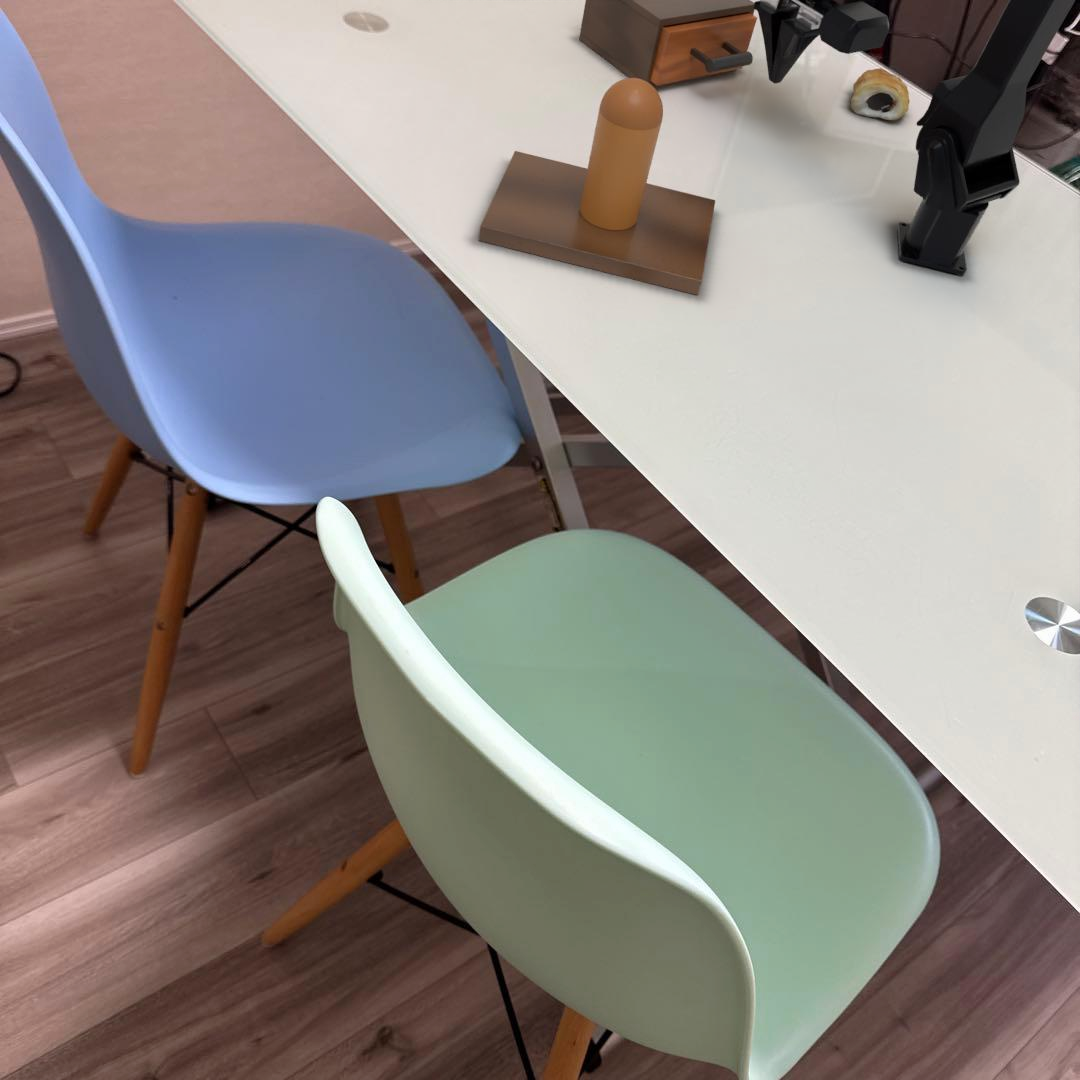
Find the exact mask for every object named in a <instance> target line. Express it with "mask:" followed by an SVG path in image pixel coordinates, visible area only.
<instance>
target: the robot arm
mask: <svg viewBox="0 0 1080 1080" xmlns="http://www.w3.org/2000/svg"><path fill="white" fill-rule="evenodd" d="M1075 2H1076V0H1008V2H1007V3H1006V5H1005V8H1004V10H1003V11H1002V13H1001V15H1000V16H999V19H998V20H997V23H996V25H994V28H993V30H992V32H991V34H990V35H989V37H988V40H987V42H986V43H985V45H984V47H983V49H982V51H981V53H980V55H979V57H978V58H977V61H976V63H975V64H974V66H973V68H972V69H971V70H970V71H969V72H968V73H967V74H966V75H964V76H963V75H962V76H959V77H955V78H951V79H947V80H942V81H940V82H938V84H937V86H936V88H935V89H934V90H933V94H932V97H931V100H930V103H929V105H928V106H927V107H928V108H927V109H926V111H925V112H924V114H923V116H922V117H921V118H919V120H917V121H916V126H917V127H921V128H920V130H919V132H918V134H917V137H916V139H915V140H916V141H915V150H916V151H917V155H918V157H917V164H916V171H915V176H914V177H915V178H914V184H913V192H914V193H915V194H917V195H918V196H920V197H921V198H922V200H921V202H920V204H919V206H918V208H917V210H916V212H915V214H914V216H913V218H912V220H911V221H910V223H908V222H904V221H900V222H899V223H898V225H897V227H896V228H897V240H898V241H897V243H898V255H899V259H900V260H901V261H903V262H907V263H911V264H915V265H920V266H923V267H927V268H932V269H935V270H940V271H944V272H947V273H948V272H949V273H952V274H955V275H959V276H964V275H965V274H966V272H967V269H968V268H967V261H966V255H965V249H966V247H967V245H968V244H969V242H970V240H971V238H972V236H973V235H974V233H975V231H976V230H977V228H978V226H979V225H980V222H981V220H982V219H983V217H984V215H985V213H986V211H987V209H988V208H989V205H990V202H993V201H995V200H999V199H1000V200H1002V199H1004V198H1005V199H1006V197H1007V196H1008V195H1010V194H1011V193H1012V192H1013V191H1014V190H1015V189H1016V188H1017V187H1019V185H1020V177H1019V171H1018V167H1017V163H1016V162H1017V161H1016V157H1015V154H1014V153H1015V152H1014V147H1013V143H1014V141H1015V139H1016V137H1017V134H1018V131H1019V130H1020V126H1021V124H1022V121H1023V119H1024V117H1025V111H1026V110H1025V109H1026V100H1027V99H1026V98H1027V88H1028V84H1029V82H1030V80H1031V78H1032V76H1033V75H1034V73H1035V71H1036V69H1037V67H1038V66H1039V65H1040V63H1041V61H1042V59H1043V57H1044V55H1045V54H1046V52H1047V51H1048V49H1049V47H1050V45H1051V43H1052V42H1053V40H1054V39H1055V36H1056V35H1057V33H1058V32H1059V29H1060V28H1061V26H1062V24H1063V23H1064V22H1065V21H1064V20H1065V19H1066V17H1067V15H1068V14H1069V12H1070V10H1071V9H1072V7H1073V5H1074V3H1075ZM754 9H755V10H756V11H757V14H758V18H759V24H760V28H761V34H762V38H763V44H764V50H765V58H766V59H765V60H766V66H767V73H768V80H769V82H771V83H773V84H774V85H776V84H780V83H782V81H783V80H784V79H785V77H786V76H787V74H788V73H789V72H790V71H791V69H792V68H793V67H794V66H795V64H796V62H797V61H798V59H800V58H801V56H802V55H803V53H804V52H805V50H806V49H807V48H808V47H809V46H810V45H811V44H812V43H813V41H815V39H817V38H818V37H820V41H821V42H822V43H824V44H826V45H828V46H829V47H831V48H832V49H833V50H835V51H837V52H839V53H842V54H847V55H850V54H854V53H860V52H864V51H868V50H873V49H878V48H882V47H883V46H884V43H885V41H886V38H887V36H888V33H889V30H890V21H889V18H888V15H886V14H885V13H883V12H881V11H880V10H878V9H877V8H874V7H873V6H872V5H869V4H868V3H866V2H864V1H855V2H849V3H843V4H841V3H840V2H838V1H837V0H757V1H754ZM755 10H754V11H755Z"/></svg>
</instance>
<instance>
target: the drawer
mask: <svg viewBox="0 0 1080 1080" xmlns="http://www.w3.org/2000/svg"><path fill="white" fill-rule="evenodd" d="M757 20H758V17H757V16H756V15H754V14H751V13H748V14H742V15H737V14H734V15H728V16H722V17H716V18H710V19H704V20H698V21H692V22H686V23H680V24H674V25H668V26H664V28H663V29H662V34H661V38H660V42H659V46H658V51H657V55H656V59H655V63H654V68H653V72H652V76H651V81H652V82H653V83H654V84H656V85H662V84H667V83H672V82H677V81H682V80H687V79H692V78H697V77H701V76H706V75H711V74H716V73H721V72H726V71H731V70H736V69H737V70H741V69H743V67H746V66H747V67H748V66H750V65H751V64H752V63H753V61H754V60H753V59H754V58H753V53H752V52H751V51H748V50H749V48H750V47H749V46H750V43H751V41H752V40H751V39H752V37H753V34H754V30H755V28H756V27H755V26H756V25H757ZM737 70H736V71H737ZM731 72H732V71H731ZM726 73H727V72H726ZM721 74H722V73H721ZM716 75H717V74H716ZM711 76H712V75H711ZM706 77H707V76H706ZM701 78H702V77H701ZM697 79H698V78H697ZM692 80H693V79H692ZM687 81H688V80H687ZM682 82H683V81H682ZM677 83H678V82H677ZM672 84H673V83H672ZM667 85H668V84H667ZM662 86H663V85H662Z"/></svg>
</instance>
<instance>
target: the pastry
mask: <svg viewBox="0 0 1080 1080" xmlns="http://www.w3.org/2000/svg"><path fill="white" fill-rule="evenodd" d="M852 89H853V94H852V97H851V99H850V109H851V110H852V111H853V112H854V113H855V114H857V115H860V116H864V117H867V118H878V119H879V118H880V119H882V120H884V121H885V120H886V121H897V120H899V119H901V118H902V117H903V116H904V115H905V114H906V113H908V111H909V106H910V105H909V104H910V95H909V94H910V93H909V90H908V85H907V84H906V83H904V82H903V80H902V79H901V78H900V77H899V76H897V75H896V74H894V73H891V72H889V71H887V69H884V68H874V69H867V70H866V71H864V72H863V73H861V75H860V76H859V77H858V78H857V79H856V81H854V83H853V86H852Z"/></svg>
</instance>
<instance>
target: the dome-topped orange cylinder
mask: <svg viewBox="0 0 1080 1080" xmlns="http://www.w3.org/2000/svg"><path fill="white" fill-rule="evenodd" d="M663 117H664V106H663V101H662V98H661V95H660V94H659V91H658V90H657V89H656V87H653V86H652V85H651V84H650V83H648V82H646V81H644V80H642V79H638V78H629V77H627V78H623V79H619V80H618V81H616V82H615V83H613V84H612V85H611V86H610V87H609V88H607V90H606V91H605V93H604V94H603V96H602V98H601V100H600V104H599V109H598V113H597V118H596V124H595V128H594V134H593V139H592V144H591V148H590V149H591V150H590V155H589V158H588V164H587V174H586V179H585V184H584V189H583V194H582V199H581V204H580V213H581V215H582V216H583V218H584V219H585V220H586V221H588V222H589V223H591V224H592V225H594V226H597V227H599V228H603V229H607V230H625V229H628V228H630V227H632V226H633V225H634V224H635V223H636V222H637V219H638V215H639V211H640V207H641V203H642V199H643V195H644V191H645V187H646V183H648V180H649V175H650V170H651V166H652V162H653V158H654V156H655V155H654V154H655V151H656V146H657V142H658V139H659V134H660V130H661V126H662V122H663Z"/></svg>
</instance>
